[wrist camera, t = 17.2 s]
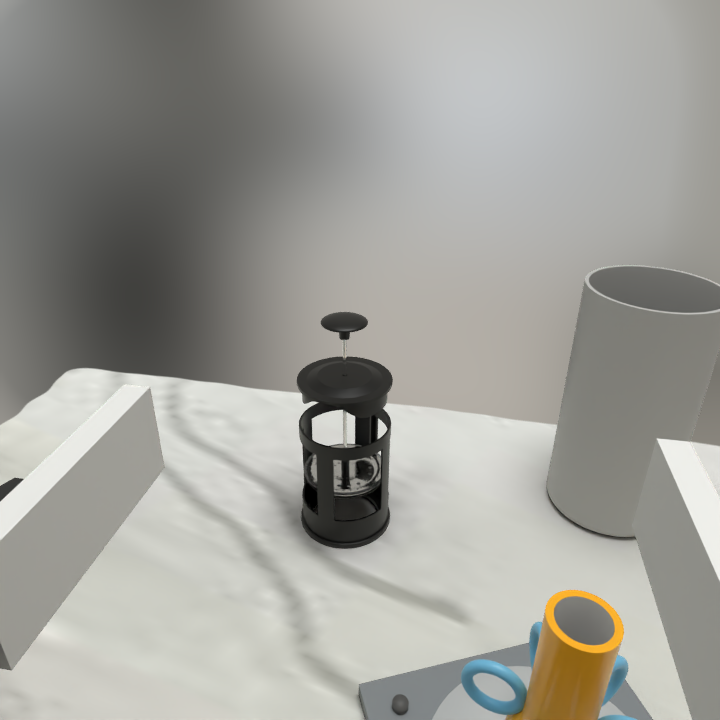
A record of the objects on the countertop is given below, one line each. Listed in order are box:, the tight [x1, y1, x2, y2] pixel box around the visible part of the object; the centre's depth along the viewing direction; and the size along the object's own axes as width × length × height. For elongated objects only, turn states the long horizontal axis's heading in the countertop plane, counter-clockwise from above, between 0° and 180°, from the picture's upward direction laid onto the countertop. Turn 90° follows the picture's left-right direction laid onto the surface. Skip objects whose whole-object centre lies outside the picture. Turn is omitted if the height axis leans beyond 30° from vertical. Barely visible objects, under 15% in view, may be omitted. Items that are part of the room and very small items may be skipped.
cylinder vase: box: [547, 265, 720, 537], centre depth 61 cm, size 12×12×25 cm
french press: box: [297, 312, 393, 548], centre depth 59 cm, size 12×9×23 cm
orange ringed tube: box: [461, 590, 637, 720], centre depth 36 cm, size 12×10×15 cm
